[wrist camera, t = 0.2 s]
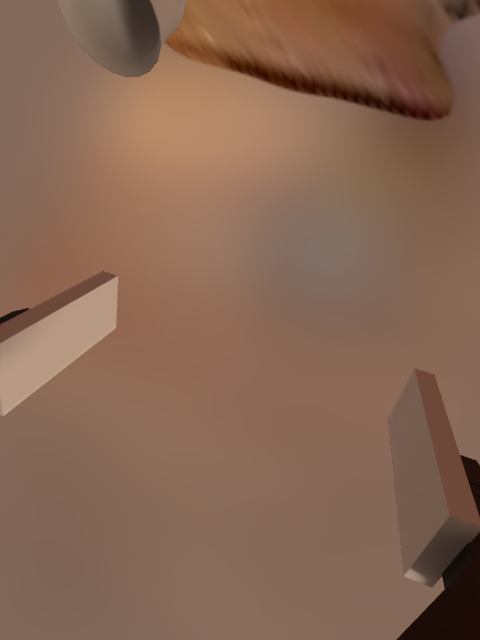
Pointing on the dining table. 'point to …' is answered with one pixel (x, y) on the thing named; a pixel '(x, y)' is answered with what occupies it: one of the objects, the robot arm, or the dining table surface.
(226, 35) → the dining table surface
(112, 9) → the chalice
